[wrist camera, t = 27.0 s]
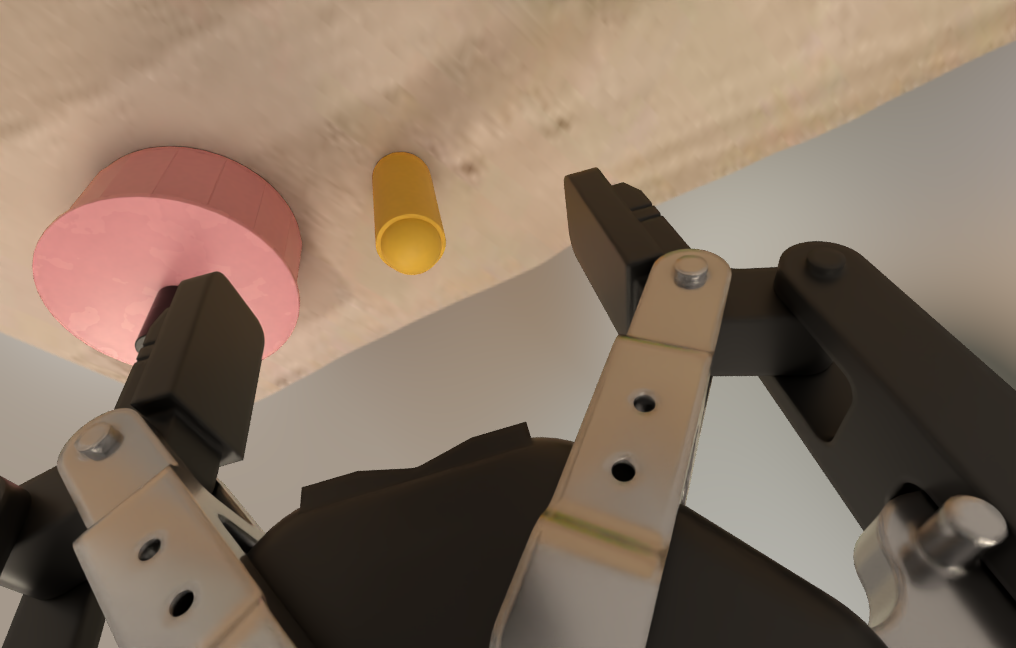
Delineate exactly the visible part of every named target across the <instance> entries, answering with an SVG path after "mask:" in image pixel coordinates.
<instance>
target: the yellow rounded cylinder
mask: <svg viewBox="0 0 1016 648" xmlns="http://www.w3.org/2000/svg"><path fill="white" fill-rule="evenodd" d="M372 183H373V202H374V220H375V239H376V249H377V252H378V254H379V256H380V258H381V259H382V260H383V261H384V263H386V264H387V265H388V266H390V267H391V268H393V269H395V270H396V271H398V272H400V273H403V274H408V275H416V274H421V273H423V272H426V271H427V270H429V269H430V268H432V267H433V266H434V265H435V263H436V262H438V260H439V259H440V258H441V256H442V255H443V253H444V250H445V246H446V239H445V234H444V230H443V226H442V221H441V217H440V213H439V209H438V204H437V200H436V196H435V192H434V187H433V183H432V179H431V175H430V171H429V169H428V167H427V166H426V164H425V163H424V162H423V161H422V160H421V159H420V158H418V157H417V156H415V155H413V154H410V153H406V152H396V153H392V154H389V155H387V156H385V157H383V158H382V159H381V160H380V161H379V162H378V163H377V165H376V166H375V168H374V171H373V175H372Z"/></svg>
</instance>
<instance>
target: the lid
mask: <svg viewBox="0 0 1016 648" xmlns="http://www.w3.org/2000/svg"><path fill="white" fill-rule="evenodd" d="M32 268H33V277H34V282H35V285H36V288H37V291H38V293H39V295H40V297H41V299H42V301H43V303H44V304H45V306H46V307H47V308H48V310H49V311H50V312H51V314H52V315H53V316H54V317H55V318H56V319H57V321H58V322H59V323H60V324H61V325H62V326H63V327H64V328H66V329H67V330H68V331H69V332H70V333H72V334H73V335H74V336H75V337H77V338H78V339H80V340H81V341H83V342H84V343H86V344H87V345H89V346H90V347H92V348H94V349H96V350H98V351H99V352H101V353H103V354H105V355H108V356H110V357H112V358H114V359H116V360H119V361H122V362H125V363H127V364H130V365H134V363H136V362H137V360H136V358H137V356H138V353H139V351H140V349H141V348H142V347H143V345H142V344H143V342H144V340H145V337H146V335H147V333H148V330H149V328H150V326H151V325H152V324H153V323H154V322H155V320H156V319H157V318H158V317H159V316H160V315H161V314H162V312H163V311H164V310H165V309H166V308H169V307H170V305H171V302H172V300H173V298H174V295H175V293H176V290H177V288H178V285H179V284H180V282H181V281H183V280H186V279H189V278H193V277H197V276H200V275H204V274H207V273H211V272H215V271H218V272H221V273H222V274H224V275H225V276H226V277H227V279H228V280H229V281H230V282H231V284H232V285H233V286H234V288H235V289H236V290H237V292H238V293H239V295H240V296H241V297H242V299H243V300H244V301H245V303H246V304H247V305H248V307H249V308H250V309H251V311H252V312H253V313H254V315H255V316H256V317H257V319H258V320H259V322H260V324H261V326H262V329H263V332H264V338H265V345H264V351H263V356H262V360H264V359H265V358H267V357H269V356H270V355H272V354H273V353H274V352H276V351H277V350H278V349H279V348H280V347H281V346H282V345H283V344H284V343H285V342H286V341H287V340H288V338H289V337H290V335H291V334H292V332H293V330H294V328H295V326H296V323H297V320H298V316H299V307H300V297H299V289H298V286H297V282H296V279H295V277H294V275H293V273H292V270H291V268H290V267H289V265H288V264H287V262H286V261H285V259H284V258H283V256H282V255H281V254H280V253H279V252H278V250H277V249H276V248H275V247H274V246H273V245H272V244H271V243H270V242H269V241H268V240H267V239H265V238H264V237H263V236H262V235H261V234H260V233H258V232H257V231H255V230H254V229H253V228H251V227H250V226H249V225H247V224H245V223H244V222H242V221H240V220H238V219H237V218H235V217H233V216H231V215H229V214H227V213H225V212H223V211H221V210H218V209H216V208H213V207H211V206H208V205H205V204H202V203H199V202H196V201H192V200H188V199H184V198H180V197H174V196H168V195H162V194H149V193H128V194H117V195H110V196H104V197H100V198H96V199H93V200H90V201H86V202H84V203H81V204H79V205H77V206H75V207H73V208H71V209H69V210H68V211H66V212H65V213H63V214H62V215H60V216H59V217H57V218H56V219H55V220H54V221H53V222H52V223H51V224H50V225H49V226H48V227H47V229H46V230H45V231H44V233H43V234H42V236H41V237H40V239H39V241H38V243H37V245H36V248H35V251H34V255H33V264H32Z"/></svg>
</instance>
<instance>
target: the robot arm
mask: <svg viewBox="0 0 1016 648" xmlns="http://www.w3.org/2000/svg"><path fill="white" fill-rule="evenodd" d="M564 189H565V199H566V209H567V218H568V228H569V235H570V240H571V244H572V248H573V251H574V253H575V256H576V258H577V260H578V262H579V263H580V265H581V267H582V269H583V271H584V272H585V274H586V276H587V278H588V280H589V281H590V283H591V285H592V287H593V289H594V290H595V292H596V294H597V296H598V298H599V300H600V301H601V303H602V305H603V307H604V309H605V310H606V312H607V314H608V316H609V317H610V320H611V321H612V323H613V325H614V327H615V329H616V330H617V332H618V334H619V335H618V336H617V337H616V339H615V341H614V343H613V346H612V348H611V351H610V353H609V356H608V358H607V361H606V363H605V366H604V369H603V371H602V374H601V376H600V379H599V382H598V384H597V386H596V389H595V392H594V394H593V396H592V399H591V401H590V404H589V406H588V409H587V411H586V414H585V417H584V419H583V422H582V424H581V427H580V429H579V432H578V435H577V437H576V439H575V442H572V441H568V440H563V439H557V438H544V437H536V438H531V436H530V433H529V430H528V427H527V423H526V422H523V423H520V424H517V425H513V426H510V427H506V428H503V429H499V430H496V431H493V432H489V433H486V434H482V435H479V436H476V437H472V438H470V439H468V440H466V441H465V442H463V443H461V444H459V445H457V446H456V447H454V448H452V449H450V450H449V451H446V452H445V453H443V454H441V455H439V456H437V457H436V458H434V459H432V460H430V461H428V462H426V463H425V464H423V465H421V466H419V467H415V468H408V469H389V470H371V471H356V472H353V473H350V474H346V475H343V476H339V477H336V478H333V479H330V480H326V481H322V482H319V483H316V484H312V485H309V486H305V487H302V492H301V504H300V508H298V509H297V510H295V511H293V512H292V513H291V514H289V515H288V516H286V517H285V518H283V519H282V520H281V521H280V522H278V523H277V524H276V525H275V526H273V527H272V528H271V529H270V530H269V531H268V532H267V533H266V534H265V533H264V531H263V530H262V529H261V528H260V527H259V525H258V524H257V523H256V522H255V521H254V519H253V518H252V517H251V516H250V515H249V513H248V512H247V511H246V510H245V509H244V507H243V506H242V505H241V504H240V502H239V501H238V500H237V499H236V498H235V496H234V495H233V494H232V493H231V492H230V490H229V489H228V488H227V487H226V485H225V484H223V483H222V482H221V481H220V480H219V479H218V478H217V474H218V470H219V467H221V466H224V465H227V464H231V463H234V462H238V461H241V460H243V458H244V453H245V448H246V442H247V436H248V431H249V426H250V420H251V415H252V410H253V405H254V399H255V394H256V388H257V383H258V378H259V372H260V367H261V361H262V356H263V351H264V345H265V338H264V332H263V329H262V326H261V324H260V322H259V320H258V319H257V317H256V316H255V315H254V313H253V312H252V311H251V309H250V308H249V307H248V305H247V304H246V303H245V301H244V300H243V299H242V297H241V296H240V295H239V293H238V292H237V290H236V289H235V288H234V286H233V285H232V284H231V282H230V281H229V280H228V279H227V277H226V276H225V275H224V274H222V273H221V272H218V271H215V272H211V273H207V274H204V275H200V276H197V277H193V278H189V279H186V280H183V281H181V282H180V284H179V285H178V288H177V290H176V293H175V295H174V298H173V300H172V302H171V305H170V307H169V308H166V309H165V310H164V311H163V312H162V314H161V315H160V316H159V317H158V318H157V319H156V320H155V322H154V323H153V324H152V325H151V326H150V328H149V330H148V333H147V335H146V337H145V340H144V342H143V344H142V345H143V347H142V348H141V349H140V351H139V353H138V356H137V358H136V360H137V362H136V363H134V365H133V367H132V369H131V372H130V374H129V376H128V379H127V381H126V383H125V385H124V388H123V390H122V392H121V395H120V397H119V399H118V402H117V404H116V406H115V409H114V410H112V411H108V412H106V413H104V414H101V415H100V416H98V417H96V418H94V419H93V420H91V421H89V422H88V423H87V424H85V425H84V426H83V427H81V428H80V429H79V430H78V431H77V432H76V433H75V434H74V435H73V436H72V437H71V438H70V439H69V440H68V442H67V443H66V444H65V445H64V447H63V449H62V451H61V452H60V454H59V457H58V461H57V466H55V467H53V468H52V469H50V470H48V471H46V472H44V473H42V474H40V475H38V476H36V477H35V478H32V479H31V480H29V481H27V482H25V483H23V484H21V485H19V486H18V485H16V484H14V483H12V482H11V481H9V480H7V479H5V478H3V477H1V476H0V586H3V587H6V588H8V589H11V590H14V591H17V592H19V593H22V594H23V596H22V598H21V601H20V603H19V606H18V609H17V611H16V614H15V616H14V618H13V621H12V624H11V626H10V629H9V631H8V634H7V636H6V639H5V641H4V644H3V646H2V648H98V644H99V641H100V637H101V633H102V630H103V626H104V623H105V619H106V621H107V623H108V625H109V627H110V630H111V632H112V634H113V636H114V638H115V640H116V643H117V645H118V647H119V648H1016V391H1015V390H1014V389H1013V388H1012V387H1011V386H1010V385H1008V384H1007V383H1006V382H1005V381H1004V380H1003V379H1002V378H1001V377H999V376H998V375H997V374H996V373H995V372H994V371H993V370H991V369H990V368H989V367H988V366H987V365H986V364H985V363H984V362H982V361H981V360H980V359H979V358H978V357H977V356H976V355H974V354H973V353H972V352H971V351H970V350H969V349H968V348H966V347H965V346H964V345H963V344H962V343H961V342H960V341H958V340H957V339H956V338H955V337H954V336H953V335H952V334H950V333H949V332H948V331H947V330H946V329H945V328H944V327H943V326H941V325H940V324H939V323H938V322H937V321H936V320H935V319H934V318H932V317H931V316H930V315H929V314H928V313H927V312H926V311H924V310H923V309H922V308H921V307H920V306H919V305H918V304H916V303H915V302H914V301H913V300H912V299H911V298H910V297H908V296H907V295H906V294H905V293H904V292H903V291H902V290H901V289H899V288H898V287H897V286H896V285H895V284H894V283H892V282H891V281H890V280H889V279H888V278H887V277H886V276H884V274H882V273H881V272H880V271H879V270H878V269H877V268H876V267H874V266H873V265H872V264H871V263H870V262H869V261H868V260H866V259H865V258H864V257H863V256H862V255H860V254H859V253H858V252H856V251H854V250H853V249H850V248H848V247H846V246H843V245H839V244H836V243H831V242H822V241H812V242H804V243H799V244H796V245H794V246H792V247H789V248H788V249H787V250H785V251H784V252H783V253H782V255H781V257H780V260H779V264H778V267H770V268H751V269H733V268H730V267H729V265H728V264H727V262H726V261H725V260H724V259H722V258H721V257H719V256H718V255H716V254H714V253H711V252H708V251H705V250H699V249H691V248H690V247H689V246H688V245H687V244H686V242H684V240H683V239H682V238H681V237H680V236H679V234H678V233H677V232H676V231H675V230H674V228H673V227H672V226H671V225H670V224H669V223H668V222H667V220H666V219H665V218H664V217H663V216H661V215H660V212H659V211H658V210H657V209H656V207H655V206H652V203H651V202H650V200H649V199H648V198H647V197H646V196H645V195H644V193H643V192H642V191H641V190H639V189H637V188H634V187H632V186H630V185H628V184H626V183H624V182H623V183H619V184H615V185H611V184H610V183H609V182H608V180H607V179H606V178H605V176H604V175H603V174H602V173H601V171H600V170H599V169H598V168H597V167H595V168H591V169H588V170H584V171H581V172H577V173H573V174H570V175H566V176H565V178H564ZM713 376H759V378H760V380H761V381H762V382H763V384H764V385H765V387H766V388H767V390H768V391H769V393H770V394H771V396H772V397H773V399H774V400H775V402H776V403H777V404H778V406H779V407H780V409H781V410H782V412H783V413H784V415H785V416H786V418H787V419H788V421H789V422H790V423H791V425H792V426H793V428H794V429H795V431H796V432H797V434H798V435H799V437H800V438H801V440H802V441H803V443H804V444H805V445H806V447H807V448H808V450H809V451H810V453H811V454H812V456H813V457H814V459H815V460H816V462H817V463H818V465H819V466H820V468H821V469H822V470H823V472H824V473H825V475H826V476H827V477H828V479H829V481H830V482H831V484H832V485H833V487H834V488H835V490H836V491H837V492H838V494H839V495H840V497H841V498H842V500H843V501H844V503H845V504H846V506H847V507H848V509H849V510H850V512H851V513H852V514H853V516H854V517H855V519H856V520H857V522H858V523H859V525H860V526H861V528H862V529H863V531H864V532H863V533H862V535H861V536H860V537H859V539H858V540H857V542H856V544H855V548H854V556H853V558H854V565H855V569H856V572H857V574H858V577H859V579H860V581H861V583H862V585H863V587H864V589H865V592H866V595H867V598H868V601H869V609H870V616H869V623H868V625H867V624H866V623H865V622H864V621H863V620H862V619H861V618H860V617H859V616H857V615H856V614H855V613H854V612H853V611H851V610H850V609H849V608H848V607H846V606H845V605H844V604H842V603H841V602H839V601H838V600H836V599H835V598H833V597H832V596H830V595H829V594H827V593H825V592H824V591H822V590H821V589H819V588H817V587H816V586H814V585H812V584H811V583H809V582H808V581H806V580H804V579H803V578H801V577H800V576H798V575H796V574H795V573H793V572H792V571H790V570H788V569H787V568H785V567H783V566H782V565H780V564H779V563H777V562H775V561H774V560H772V559H770V558H769V557H767V556H766V555H764V554H762V553H761V552H759V551H758V550H756V549H754V548H753V547H751V546H750V545H748V544H746V543H745V542H743V541H742V540H740V539H738V538H737V537H735V536H733V535H732V534H730V533H729V532H727V531H725V530H724V529H722V528H721V527H719V526H717V525H716V524H714V523H713V522H711V521H709V520H708V519H706V518H704V517H703V516H701V515H699V514H698V513H696V512H695V511H693V510H691V509H690V508H688V507H687V506H685V504H686V499H687V494H688V490H689V485H690V480H691V475H692V471H693V466H694V461H695V456H696V451H697V446H698V442H699V437H700V432H701V428H702V423H703V419H704V414H705V410H706V405H707V401H708V396H709V392H710V387H711V382H712V378H713Z"/></svg>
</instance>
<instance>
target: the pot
mask: <svg viewBox="0 0 1016 648" xmlns="http://www.w3.org/2000/svg"><path fill="white" fill-rule="evenodd" d="M128 193H149V194H162V195H168V196H174V197H180V198H184V199H188V200H192V201H196V202H199V203H202V204H205V205H208V206H211V207H213V208H216V209H218V210H221V211H223V212H225V213H227V214H229V215H231V216H233V217H235V218H237V219H238V220H240V221H242V222H244V223H245V224H247V225H249V226H250V227H251V228H253V229H254V230H255V231H257V232H258V233H260V234H261V235H262V236H263V237H264V238H265V239H267V240H268V241H269V242H270V243H271V244H272V245H273V246H274V247H275V248H276V249H277V250H278V252H279V253H280V254H281V255H282V256H283V258H284V259H285V261H286V262H287V264H288V265H289V267H290V268H291V270H292V273H293V275H294V277H295V279H296V282H297V278H298V271H299V263H300V256H301V249H302V241H301V237H300V232H299V228H298V224H297V222H296V219H295V217H294V215H293V213H292V211H291V209H290V208H289V206H288V204H287V203H286V202H285V200H284V199H283V198H282V197H281V195H280V194H279V193H278V192H277V191H276V190H275V189H274V188H273V187H272V186H271V185H270V184H269V183H268V182H266V181H265V180H264V179H263V178H262V177H260V176H259V175H257V174H256V173H254V172H253V171H251V170H250V169H248V168H247V167H245V166H243V165H241V164H239V163H237V162H235V161H233V160H231V159H228V158H226V157H223V156H221V155H218V154H214V153H211V152H208V151H204V150H199V149H194V148H187V147H175V146H173V147H155V148H148V149H143V150H140V151H136V152H133V153H130V154H128V155H126V156H123V157H121V158H119V159H118V160H116V161H115V162H113V163H112V164H110V165H109V166H108V167H106V168H105V169H103V170H101V171H100V172H99V173H98V174H97V176H96V177H95V178H94V179H93V180H92V182H91V183H90V184H89V185H88V187H87V188H86V189H85V190H84V192H83V193H82V194H81V195H80V197H79V198H78V199H77V200H76V201H75V203H74V204H73V205H72V206H71V208H73V207H75V206H77V205H79V204H81V203H84V202H86V201H90V200H93V199H96V198H100V197H104V196H110V195H117V194H128ZM71 208H70V209H71Z"/></svg>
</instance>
